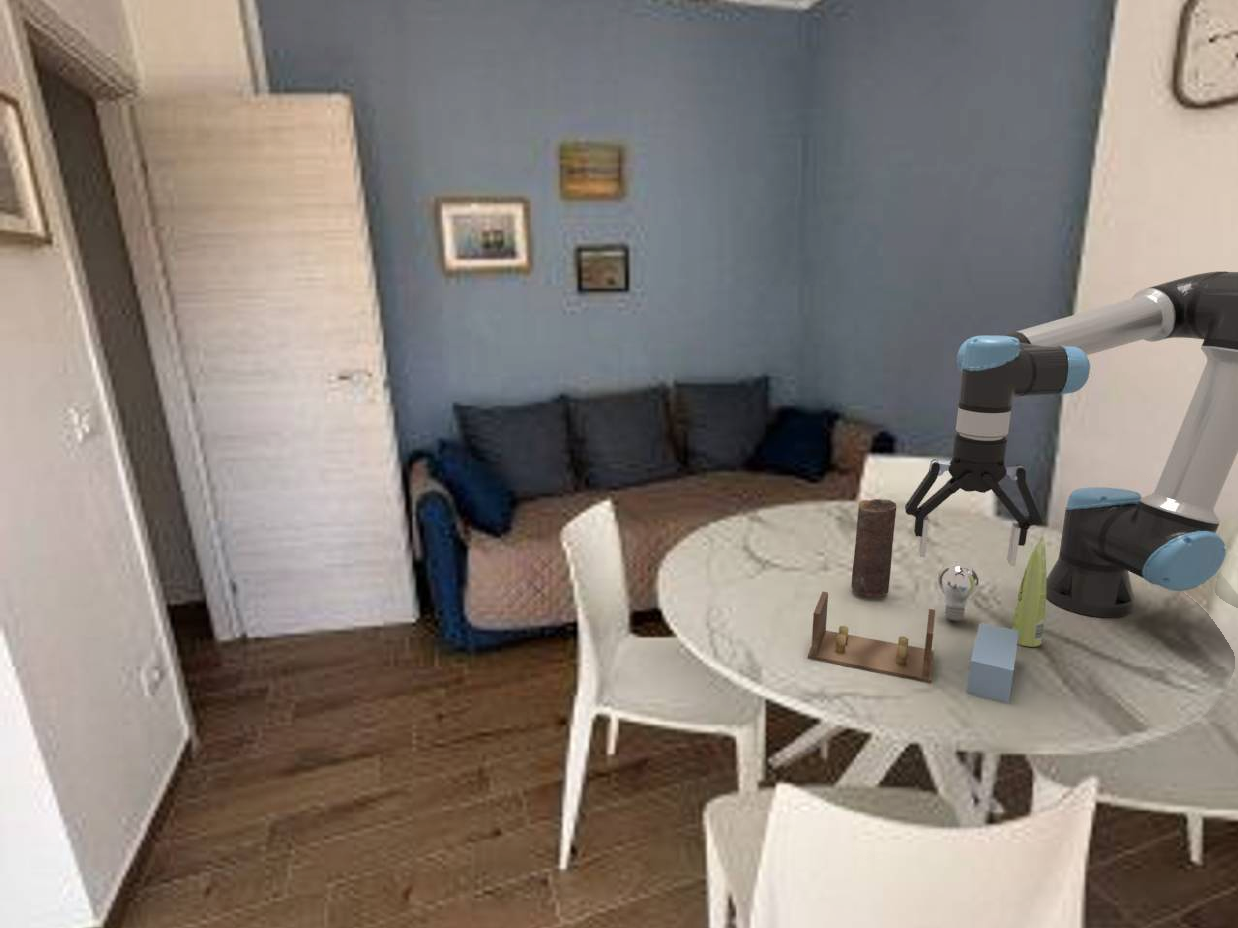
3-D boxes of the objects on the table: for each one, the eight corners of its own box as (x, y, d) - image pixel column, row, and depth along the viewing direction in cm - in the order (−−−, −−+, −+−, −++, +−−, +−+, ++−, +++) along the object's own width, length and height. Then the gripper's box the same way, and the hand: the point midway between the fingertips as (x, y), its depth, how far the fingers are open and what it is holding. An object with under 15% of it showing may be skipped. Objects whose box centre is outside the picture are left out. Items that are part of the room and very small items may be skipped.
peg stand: (933, 653, 129) (938, 609, 126) (931, 682, 120) (936, 636, 117) (817, 631, 137) (820, 589, 134) (807, 658, 128) (810, 613, 126)
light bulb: (950, 632, 135) (957, 572, 132) (926, 615, 142) (932, 558, 139) (982, 626, 137) (989, 567, 134) (956, 610, 144) (963, 553, 140)
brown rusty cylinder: (891, 603, 147) (899, 509, 141) (852, 600, 148) (859, 507, 143) (885, 586, 154) (893, 496, 149) (849, 584, 156) (855, 495, 150)
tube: (1002, 633, 135) (1015, 534, 129) (1028, 631, 135) (1042, 532, 130) (1021, 649, 129) (1036, 546, 124) (1048, 647, 130) (1064, 544, 124)
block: (1014, 662, 126) (1018, 630, 124) (1008, 704, 114) (1013, 670, 113) (975, 653, 129) (979, 622, 127) (966, 693, 117) (970, 660, 116)
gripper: (1063, 433, 116) (1044, 557, 122) (896, 425, 123) (885, 542, 129) (1076, 445, 109) (1055, 575, 115) (898, 435, 117) (887, 558, 122)
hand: (965, 558), depth 122 cm, fingers open, 13 cm apart
